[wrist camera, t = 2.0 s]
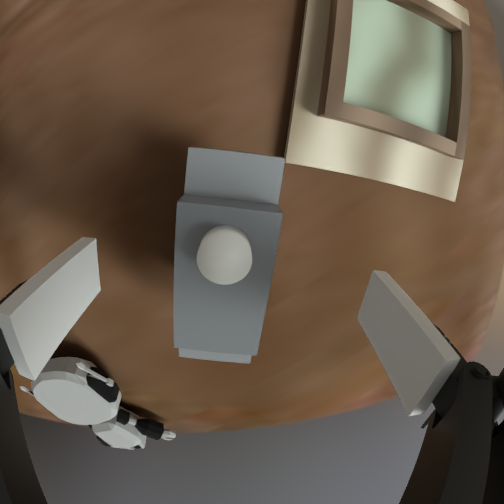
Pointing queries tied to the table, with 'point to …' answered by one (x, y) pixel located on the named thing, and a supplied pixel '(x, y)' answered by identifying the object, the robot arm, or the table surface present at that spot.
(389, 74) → the pocket board
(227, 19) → the table surface
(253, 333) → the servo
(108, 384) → the robot toy
